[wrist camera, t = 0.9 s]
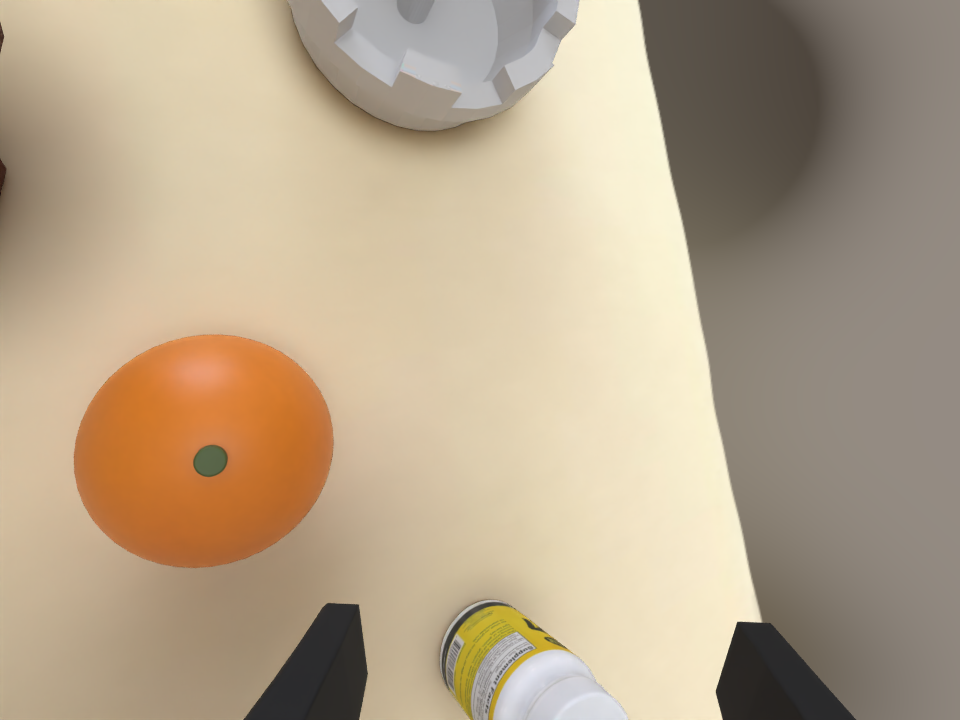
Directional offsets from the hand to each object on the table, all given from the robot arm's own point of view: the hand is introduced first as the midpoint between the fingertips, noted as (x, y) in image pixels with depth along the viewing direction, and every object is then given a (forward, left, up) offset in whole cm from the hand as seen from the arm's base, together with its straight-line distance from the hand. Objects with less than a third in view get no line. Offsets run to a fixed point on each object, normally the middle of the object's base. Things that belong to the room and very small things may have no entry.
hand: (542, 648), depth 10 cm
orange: (+2, +6, -15) cm, 16 cm away
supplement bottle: (-7, -7, -15) cm, 18 cm away
